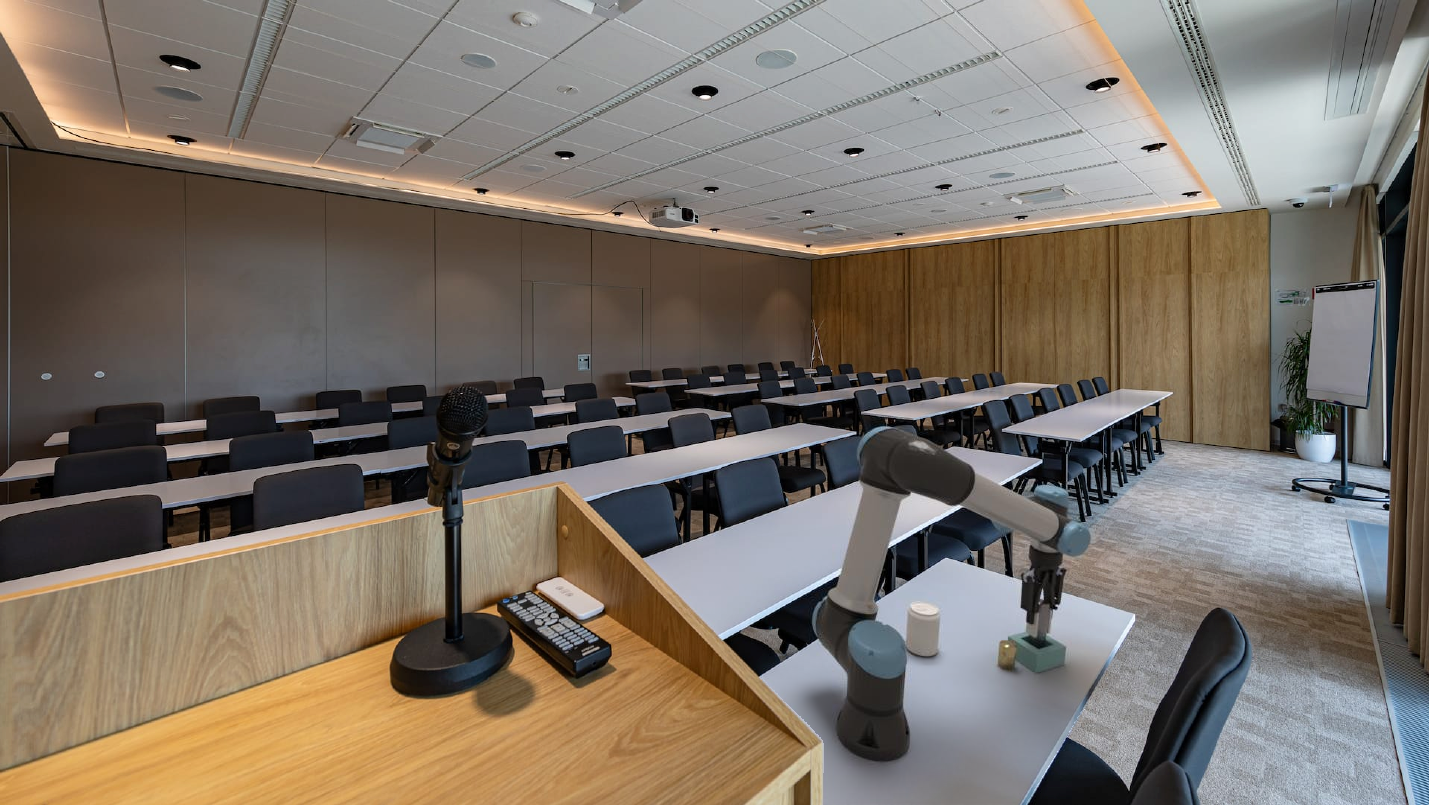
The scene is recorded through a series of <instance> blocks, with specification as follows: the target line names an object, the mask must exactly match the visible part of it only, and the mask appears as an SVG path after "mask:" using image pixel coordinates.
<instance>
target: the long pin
mask: <svg viewBox="0 0 1429 805" xmlns="http://www.w3.org/2000/svg"><path fill="white" fill-rule="evenodd" d="M1049 606H1050V603H1049V602H1047V601H1046V600H1044V598H1040V601H1039V605H1038V609H1037V612H1038V613H1039V620H1038V630H1037V637H1033V636H1031V635H1030V634H1029V637H1028V643H1029V644H1031V645H1032V646H1034V647H1035V648H1037V649H1041V648H1044V647H1045V645H1046V635H1047V636H1048V634H1047V626H1048V616H1049Z"/></svg>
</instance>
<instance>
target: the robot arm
mask: <svg viewBox="0 0 1429 805" xmlns="http://www.w3.org/2000/svg"><path fill="white" fill-rule="evenodd" d="M856 458H857V461H858V463H859V466H860V468H861V469H860V474H859V476H858V482H859V483H860V486H861V488H862V493H861V496H860V500H859V504H858V508H857V512H856V515H855V519H854V523H853V525H852V526H853V527H852V529H851V533H850V537H849V541H848V545H847V549H846V552H845V556H844V559H843V563H842V567H841V571H840V574H839V578H838V580H837V581H838V582H837V584H836V587H834V588H831V589H830V590H828V592H827V595H826V596H824V597H823V598H822V601H819V602H818V603H817V604H816V606H815V607H814V611H813V612H812V620H811V624H812V628H813V631H814V634H815V635H816V637H817V639H818V641H819V642H820V644H821V646H823V647H824V648H825V649H826V650H827V651H828V653H829V654H830V655H831V656H832V658H834V659H835V661H836V662H837V664H839V665H840V667H841V668H842V670H844V672H845V673H846V676H847V677H846V680H847V682H846V683H847V684H846V696H845V699H844V702H843V705H842V708H841V710H840V711H839V713H838V716H837V719H836V733H837V737H838V739H839V741H840V742H841V743H842V745H844V747H845V748H846V749H848V750H849V751H850V752H852V753H854V754H856V755H857V756H859V757H862V758H864V759H867V760H872V761H882V762H884V761H892V760H896V759H898V758H900V757H902V756H903V755H905V754H906V753H907V751H908V750H909V748H910V743H911V731H910V726H909V723H908V719H907V715H906V712H905V709H904V698H905V682H906V672H907V668H906V667H907V664H908V657H907V647H906V640H905V639H904V637H903V636H902V635H901V633H900V632H899V631H898V630H897V629H896V628H894V627H893V626H891V625H889V624H883V622H882V621H878V620H877V617H878V616H877V615H878V611H879V606H878V604H877V602H876V601H875V596H876V593H877V589H878V586H879V581H880V580H881V579H880V578H881V574H882V571H883V567H884V564H885V562H886V556H887V553H888V550H889V546H890V542H891V538H892V534H893V532H894V528H895V524H896V520H897V517H898V514H899V511H900V510H899V509H900V507H901V504H902V503H901V502H902V501H903V500H905V499H906V498H908V497H910V496H911V493H913V494H916V495H919V496H922V497H925V498H929V499H932V500H934V501H938V502H940V503H943V504H945V505H947V506H950V507H957V506H960V507H962V508H965V509H967V510H968V511H969V510H970V511H972V512H974V513H976V514H978V515H980V516H982V517H984V518H986V519H989V520H990V521H991V522H992V525H993V526H994V527H995V529H997V530H998V531H1001V532H1009V533H1011V532H1017V533H1019V534H1021V535H1024V536H1026V537H1027V538H1029V543H1030V545H1029V546H1028V547H1029V550H1028V559H1029V561H1030V567H1029V569H1028V570H1029V571H1028V572H1026V573H1024V572H1021V574H1020V578H1021V590H1020V609H1022V610H1023V611H1026V615H1025V616H1026V618H1025V623H1026V626H1025V632H1026V633H1028V634H1030V635H1031V636H1033V637H1037V630H1038V620H1039V613H1038V612H1037V609H1038V605H1039V601H1040V599H1041V596H1043V598H1042V599H1043V600H1046V601H1047V602H1049V603H1050V606H1049V616H1048V626H1047V635H1048V634H1051V626H1052V619H1053V613H1054V610H1055V611H1057V610H1058V609H1059V607H1058V606H1060V605H1061V601H1062V596H1063V595H1062V594H1063V588H1064V580H1065V576H1066V573H1067V568H1065V567H1063V566H1062V565H1063V557H1064V555H1066V556H1069V557H1072V558H1077V557H1080V556H1081V555H1083V554H1085V552H1086V551H1087V550H1088V548H1089V546H1090V544H1091V540H1092V537H1091V536H1092V535H1091V532H1090V530H1089V528H1088V527H1086V525H1083V524H1081V523H1079V522H1078V521H1076V520H1072V519H1070V518H1068V511H1069V508H1070V507H1069V497H1070V496H1069V493H1068V492H1069V491H1067V490H1066V489H1065V488H1062V487H1059V486H1056V485H1050V484H1049V485H1048V484H1046V485H1045V484H1042V485H1041V484H1040V485H1038V486H1036V487H1035V488H1034V492H1033V496H1032V495H1031V496H1029V497H1025V496H1024V495H1022V494H1019V493H1017V492H1016V491H1013V490H1011V489H1009V488H1007V487H1005V486H1003V485H1001V484H999V483H997V482H996V481H993V480H991V479H988V478H987V477H986V476H983V475H981V474H978V473H977V472H976V470H975V469H974V467H973V466H972V465H971V464H970V463H967V462H966V461H963V459H960V458H958V457H956V456H955V455H953V454H951V452H949V451H947V450H945V449H944V448H943V447H941V446H939V445H937V444H936V443H934V442H932V441H931V440H929V439H926V438H923V437H920V436H917V435H915V434H912V433H910V432H907V431H904V429H900V428H898V427H892V426H879V427H875V428H872V429H871V430H869V431H868V432H867V433H866V434H865V435H863V437H862V438H861V440H860V442H859V443H858V446H857V449H856Z"/></svg>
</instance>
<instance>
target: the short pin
mask: <svg viewBox="0 0 1429 805" xmlns="http://www.w3.org/2000/svg"><path fill="white" fill-rule="evenodd" d="M998 644H999V645H998V656H997V667H998V668H1000V669H1001V670H1003V671H1007V672H1012V671H1015V669H1016V661H1017V660H1016V651H1017V645H1016V644H1015V643H1013V642H1011V641H1008V639H1006V640H1005V639H1003V640H1000V641H999V642H998Z"/></svg>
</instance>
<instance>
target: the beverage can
mask: <svg viewBox="0 0 1429 805" xmlns="http://www.w3.org/2000/svg"><path fill="white" fill-rule="evenodd" d="M940 622H941V613H940V610H939V608H938V606H936V605H935V604H933V603H932V602H928V601H924V600H923V601H922V600H921V601H920V600H919V601H918V600H917V601H913V602H911V603H910V605H909V607H908V609H907V618H906V633H905V634H906V635H905V637H906V638H905V644H906V650H907V651H909V652H911V653H912V654H915V655H917V656H922V657H932V656H935V655H936V654H937V653H938V650H939V640H940V639H939V636H940V625H941V624H940Z"/></svg>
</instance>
